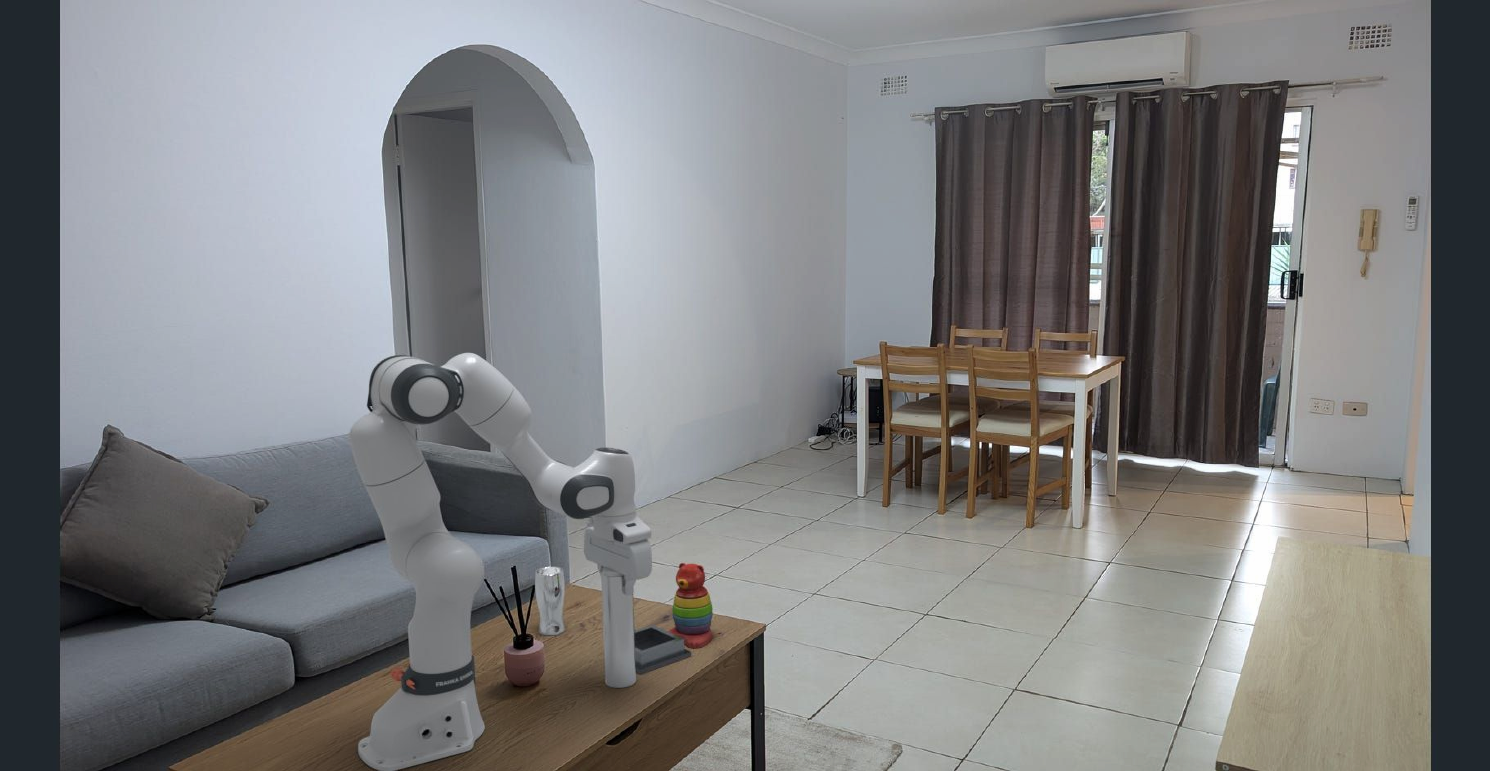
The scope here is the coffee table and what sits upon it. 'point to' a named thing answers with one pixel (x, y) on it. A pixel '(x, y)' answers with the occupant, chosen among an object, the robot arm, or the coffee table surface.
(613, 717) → the coffee table surface
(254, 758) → the coffee table surface
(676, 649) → the collar
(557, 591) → the beer glass
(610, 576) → the grey cylinder
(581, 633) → the coffee table surface
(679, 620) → the stacking bear
